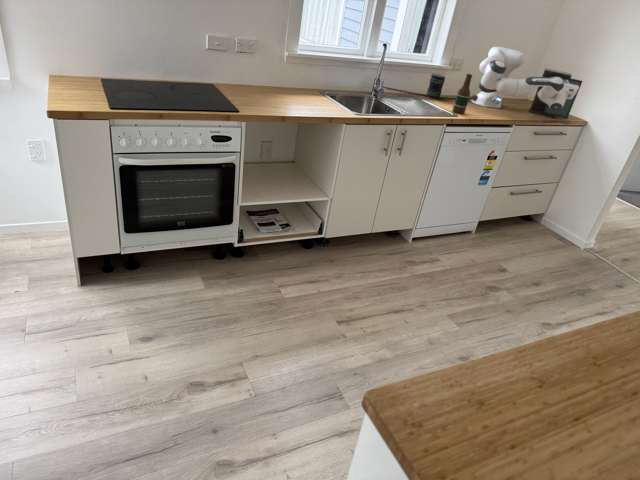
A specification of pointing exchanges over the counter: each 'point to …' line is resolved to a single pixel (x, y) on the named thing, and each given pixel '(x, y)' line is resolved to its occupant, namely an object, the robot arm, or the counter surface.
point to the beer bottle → (462, 96)
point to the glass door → (568, 102)
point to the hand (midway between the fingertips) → (564, 80)
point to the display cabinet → (537, 104)
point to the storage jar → (435, 86)
